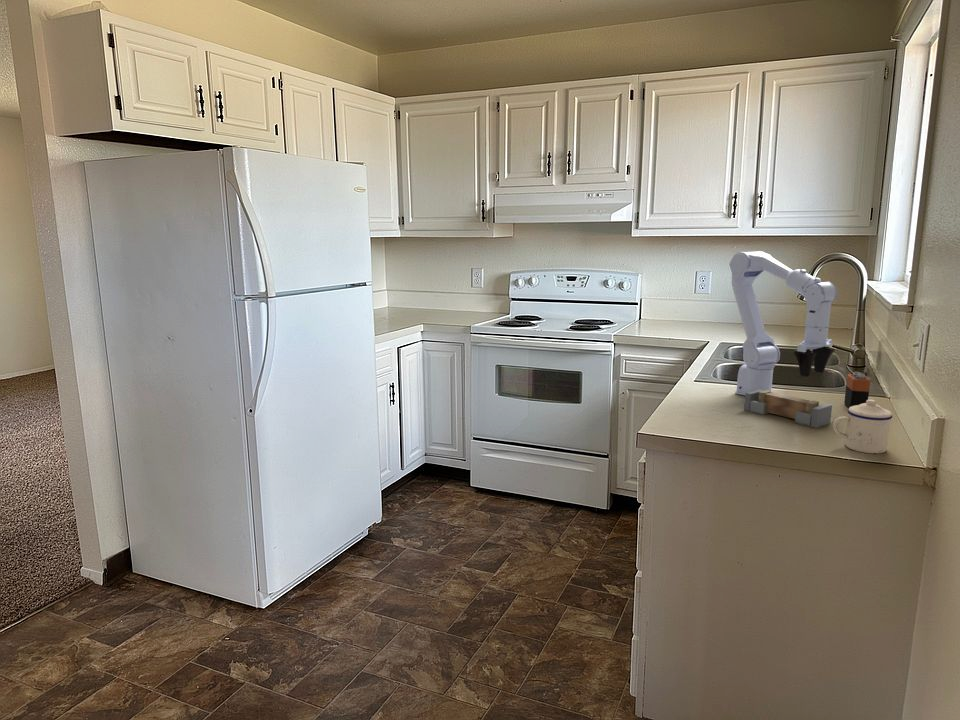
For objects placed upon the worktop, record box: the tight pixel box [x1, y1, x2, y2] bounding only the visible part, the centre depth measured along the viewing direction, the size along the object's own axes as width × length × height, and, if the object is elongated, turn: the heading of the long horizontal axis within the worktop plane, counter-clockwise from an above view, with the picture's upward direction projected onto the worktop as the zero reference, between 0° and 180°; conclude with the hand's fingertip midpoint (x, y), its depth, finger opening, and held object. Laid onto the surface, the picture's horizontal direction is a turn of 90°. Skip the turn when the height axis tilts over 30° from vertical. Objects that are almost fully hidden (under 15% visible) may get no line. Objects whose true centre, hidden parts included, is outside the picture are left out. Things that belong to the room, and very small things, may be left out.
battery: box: [843, 371, 871, 409], centre depth 188 cm, size 4×7×10 cm, turn 165°
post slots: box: [743, 389, 833, 429], centre depth 180 cm, size 21×7×5 cm, turn 37°
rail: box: [758, 390, 820, 420], centre depth 180 cm, size 15×3×5 cm, turn 37°
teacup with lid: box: [832, 398, 893, 454], centre depth 155 cm, size 12×9×12 cm
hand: (811, 374), depth 185 cm, fingers open, 7 cm apart
